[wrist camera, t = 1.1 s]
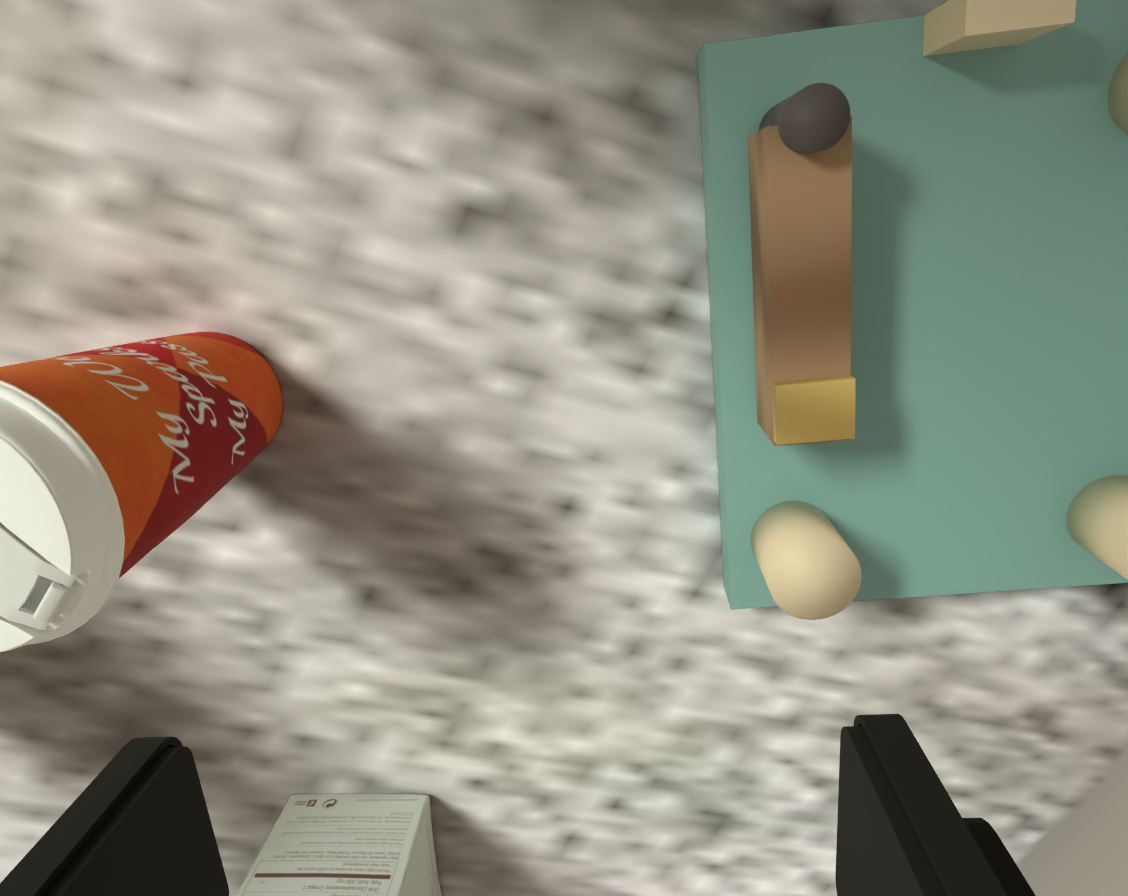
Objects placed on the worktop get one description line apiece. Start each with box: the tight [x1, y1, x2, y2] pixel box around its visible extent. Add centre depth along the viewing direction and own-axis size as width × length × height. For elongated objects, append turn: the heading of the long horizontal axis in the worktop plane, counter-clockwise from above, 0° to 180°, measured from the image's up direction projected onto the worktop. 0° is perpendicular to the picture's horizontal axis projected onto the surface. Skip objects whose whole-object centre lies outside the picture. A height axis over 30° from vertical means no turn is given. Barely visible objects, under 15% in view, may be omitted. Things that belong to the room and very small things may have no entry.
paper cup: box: [0, 332, 283, 652], centre depth 25 cm, size 8×8×14 cm
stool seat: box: [697, 0, 1128, 620], centre depth 26 cm, size 21×17×6 cm
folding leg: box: [748, 83, 855, 446], centre depth 25 cm, size 11×2×4 cm, turn 6°
